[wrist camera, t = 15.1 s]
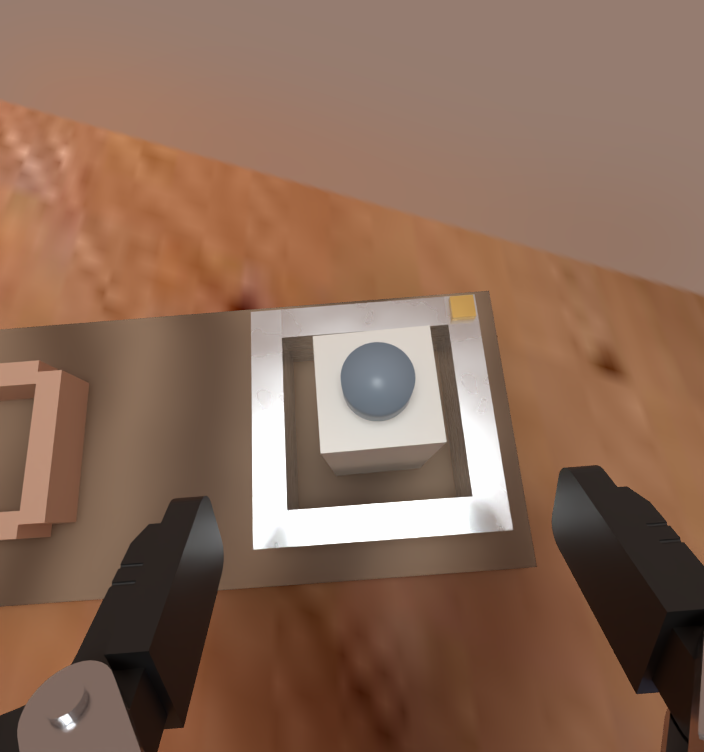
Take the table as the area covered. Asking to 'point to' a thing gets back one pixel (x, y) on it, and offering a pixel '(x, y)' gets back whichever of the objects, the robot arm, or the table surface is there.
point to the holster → (46, 447)
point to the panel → (218, 461)
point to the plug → (378, 400)
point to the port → (463, 414)
